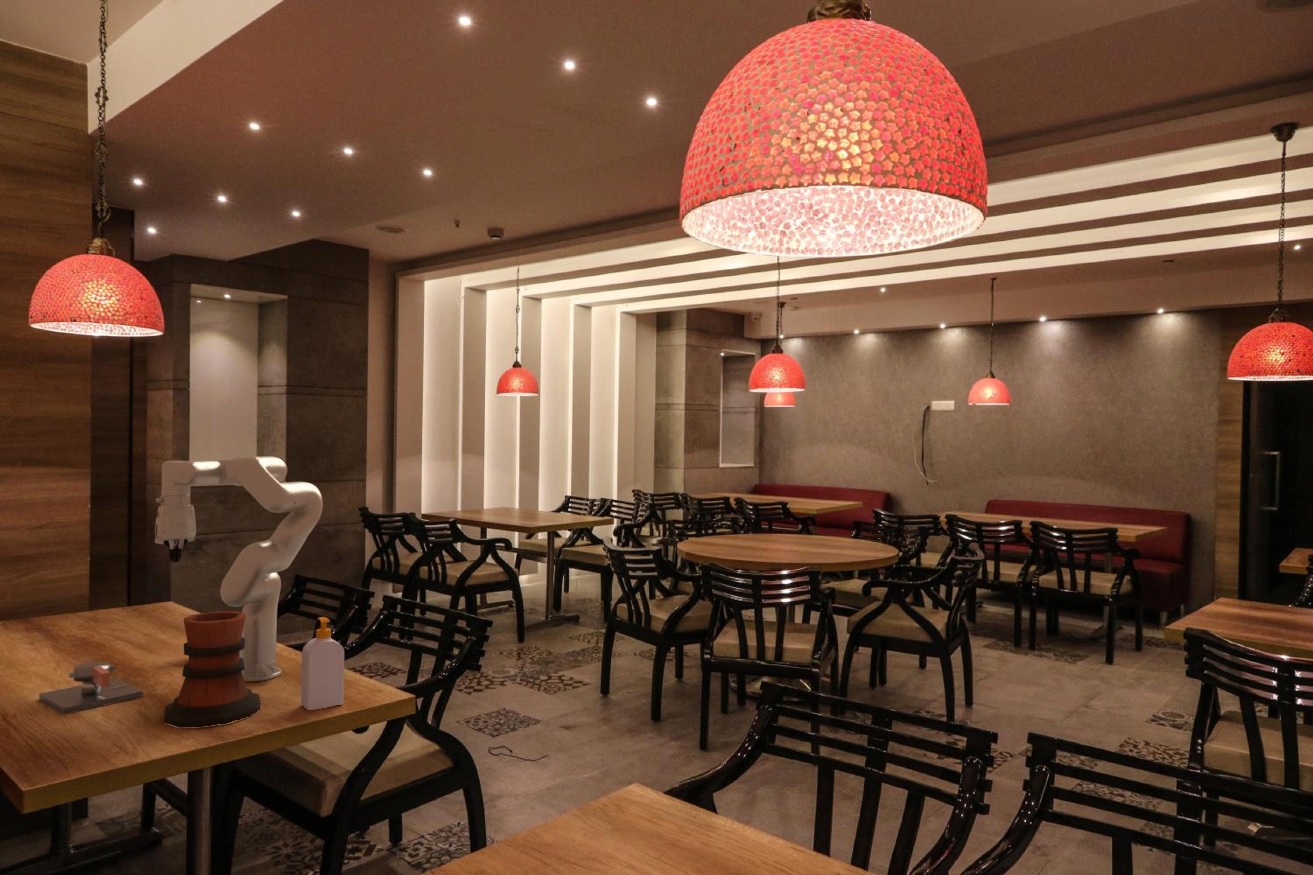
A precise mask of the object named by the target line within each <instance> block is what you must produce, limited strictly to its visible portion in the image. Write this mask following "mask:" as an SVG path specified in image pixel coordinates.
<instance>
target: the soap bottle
mask: <svg viewBox="0 0 1313 875" xmlns="http://www.w3.org/2000/svg"><path fill="white" fill-rule="evenodd" d="M317 621H320V628H318V629H316V630H315V631H316V632H315V638H311V640H309V641H307V642H306V644H305V645H304V646H303V647H302V651H301V680H300V681H301V682H300V683H301V684H300V686H301V689H300V691H301V692H300V704H301V706H302V705H303V706H304V707H303V706H302V707H303V708H304V709H306V711H308V710H314V709H320V708H324V707H330V706H335V705H340V704H342V705H344V685H345V683H344V682H345V680H344V679H345V678H344V677H345V675H344V674H345V669H344V668H345V650H344V647H343V646H342V644H341V643H339V642H338V641H336V640H335V639H332V635H331V634H332V629H331V628H328V627H327V623H331V621H330V620H329V618H328V617H325V616H320V617H319V616H318V618H317ZM320 710H321V709H320Z"/></svg>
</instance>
